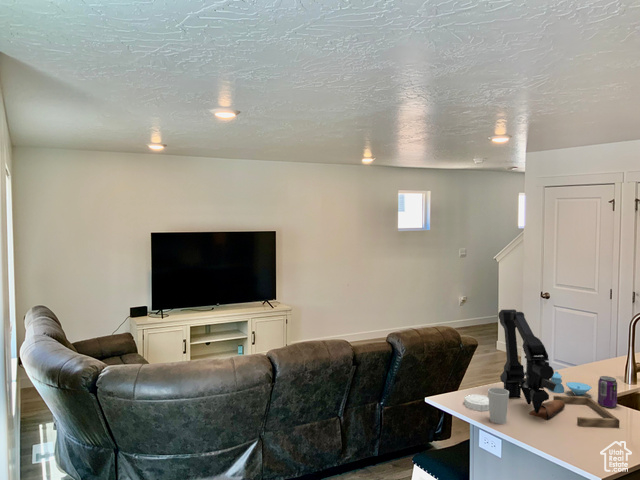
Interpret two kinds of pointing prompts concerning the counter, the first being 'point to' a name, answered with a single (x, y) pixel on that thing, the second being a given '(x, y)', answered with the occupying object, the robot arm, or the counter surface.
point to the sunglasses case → (548, 409)
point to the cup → (498, 404)
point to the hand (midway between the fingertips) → (532, 408)
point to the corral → (607, 418)
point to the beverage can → (607, 391)
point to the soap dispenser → (573, 386)
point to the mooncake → (477, 402)
